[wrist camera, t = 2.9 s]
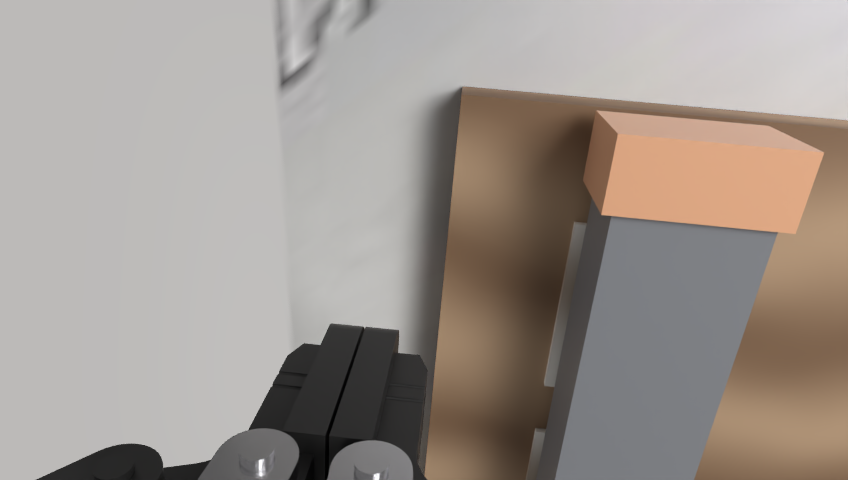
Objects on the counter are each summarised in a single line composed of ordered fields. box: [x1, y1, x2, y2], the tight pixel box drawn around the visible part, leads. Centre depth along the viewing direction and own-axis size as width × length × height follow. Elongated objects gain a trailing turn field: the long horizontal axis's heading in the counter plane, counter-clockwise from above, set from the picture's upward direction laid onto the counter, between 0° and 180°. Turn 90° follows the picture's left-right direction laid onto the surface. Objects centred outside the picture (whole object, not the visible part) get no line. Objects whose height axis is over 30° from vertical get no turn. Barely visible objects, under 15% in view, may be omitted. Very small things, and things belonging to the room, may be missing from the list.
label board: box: [424, 87, 848, 480], centre depth 22 cm, size 25×16×2 cm, turn 176°
